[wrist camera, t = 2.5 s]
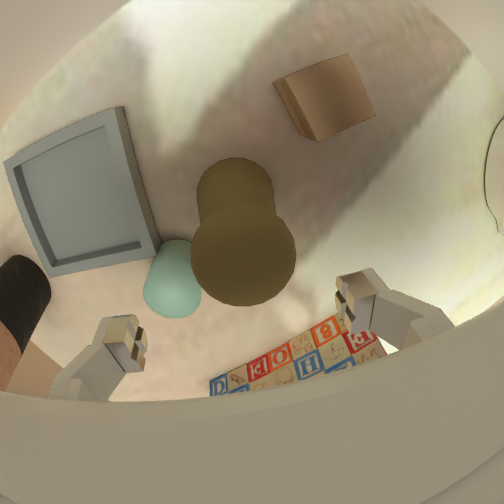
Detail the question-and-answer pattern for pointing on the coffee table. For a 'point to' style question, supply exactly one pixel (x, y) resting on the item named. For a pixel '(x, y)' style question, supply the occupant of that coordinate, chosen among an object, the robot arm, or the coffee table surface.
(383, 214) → the coffee table surface
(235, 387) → the stack of blocks
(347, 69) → the walnut cube
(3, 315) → the travel mug
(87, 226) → the tray
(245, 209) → the olive brown pawn
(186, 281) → the teal cylinder
